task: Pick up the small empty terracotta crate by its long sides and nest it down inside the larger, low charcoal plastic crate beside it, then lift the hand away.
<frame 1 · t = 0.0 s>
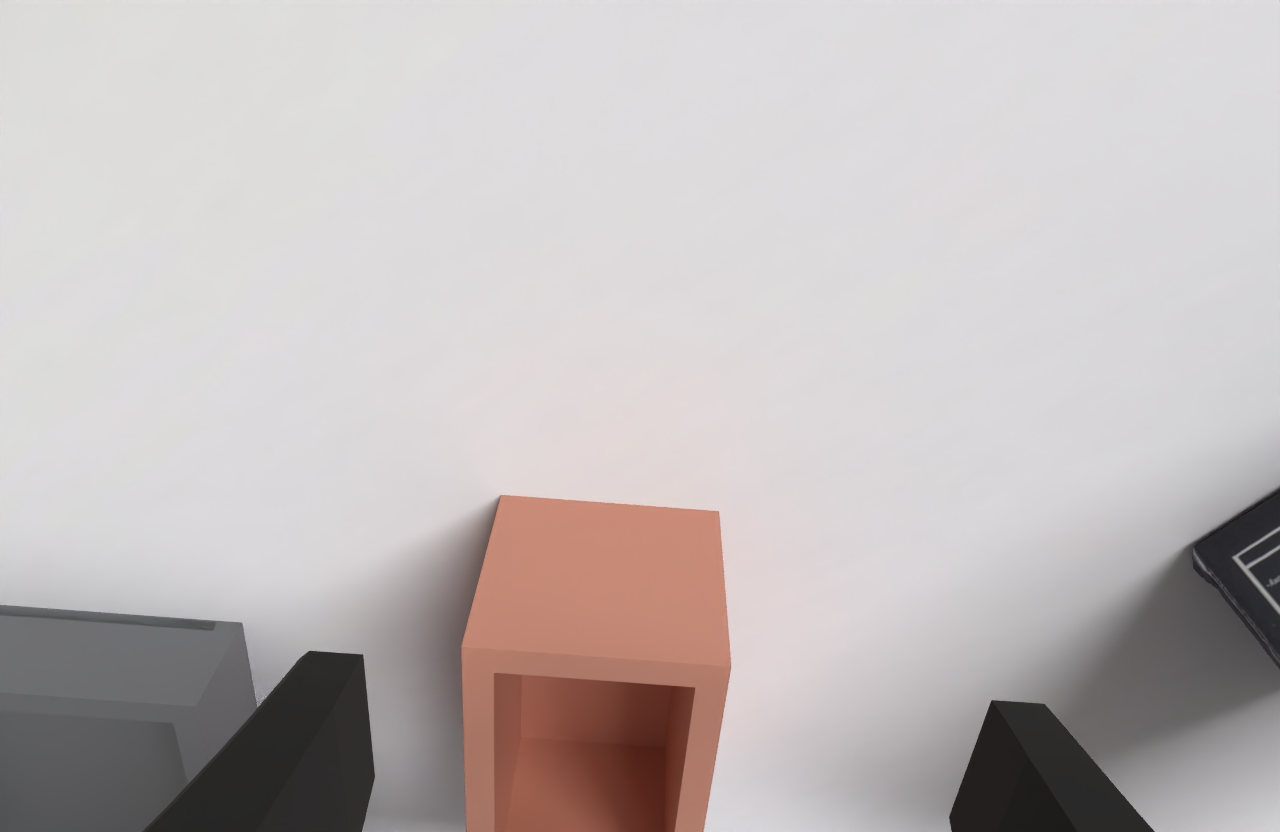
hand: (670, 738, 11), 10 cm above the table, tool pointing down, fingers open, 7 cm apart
terracotta crate: (601, 630, 24), on the table
charcoal crate: (96, 762, 27), on the table
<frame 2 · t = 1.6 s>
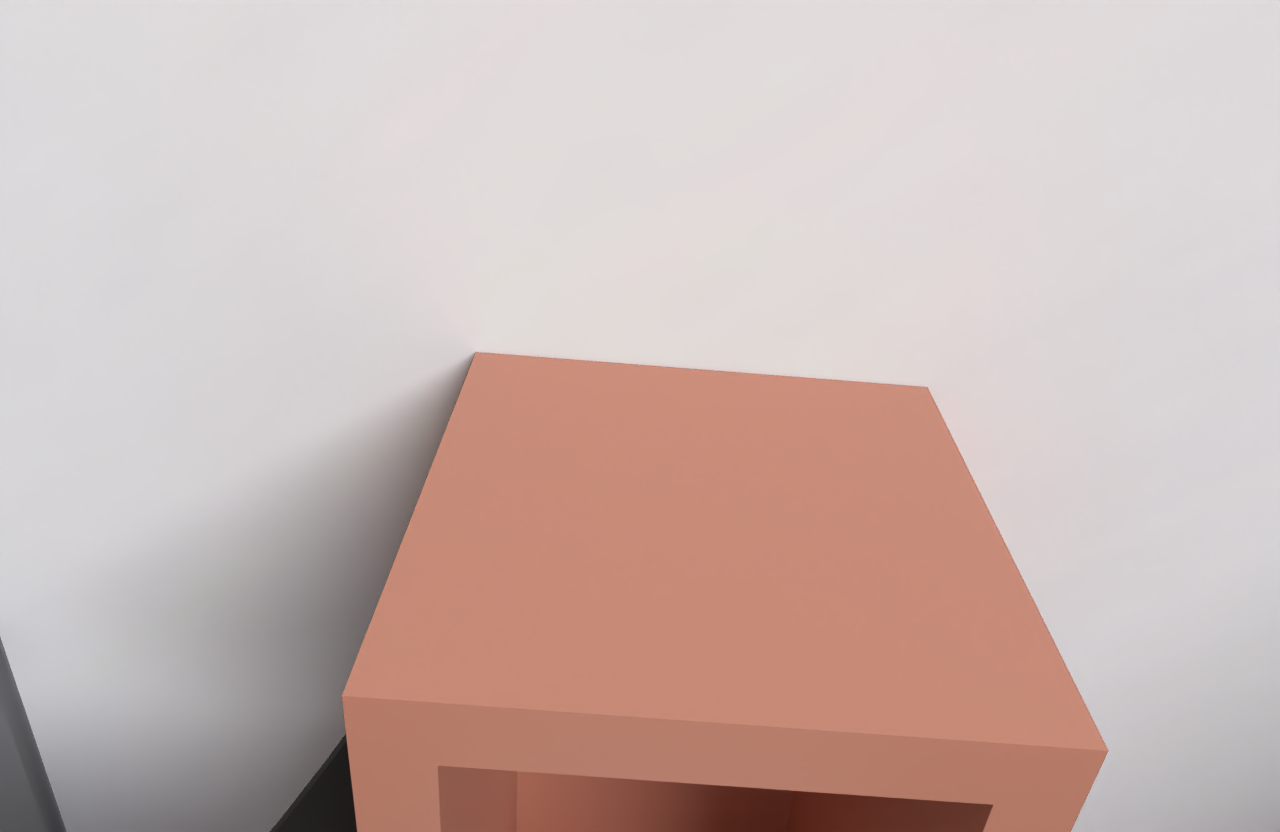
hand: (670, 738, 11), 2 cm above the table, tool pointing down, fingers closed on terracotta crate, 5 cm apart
terracotta crate: (669, 640, 13), on the table, touching gripper
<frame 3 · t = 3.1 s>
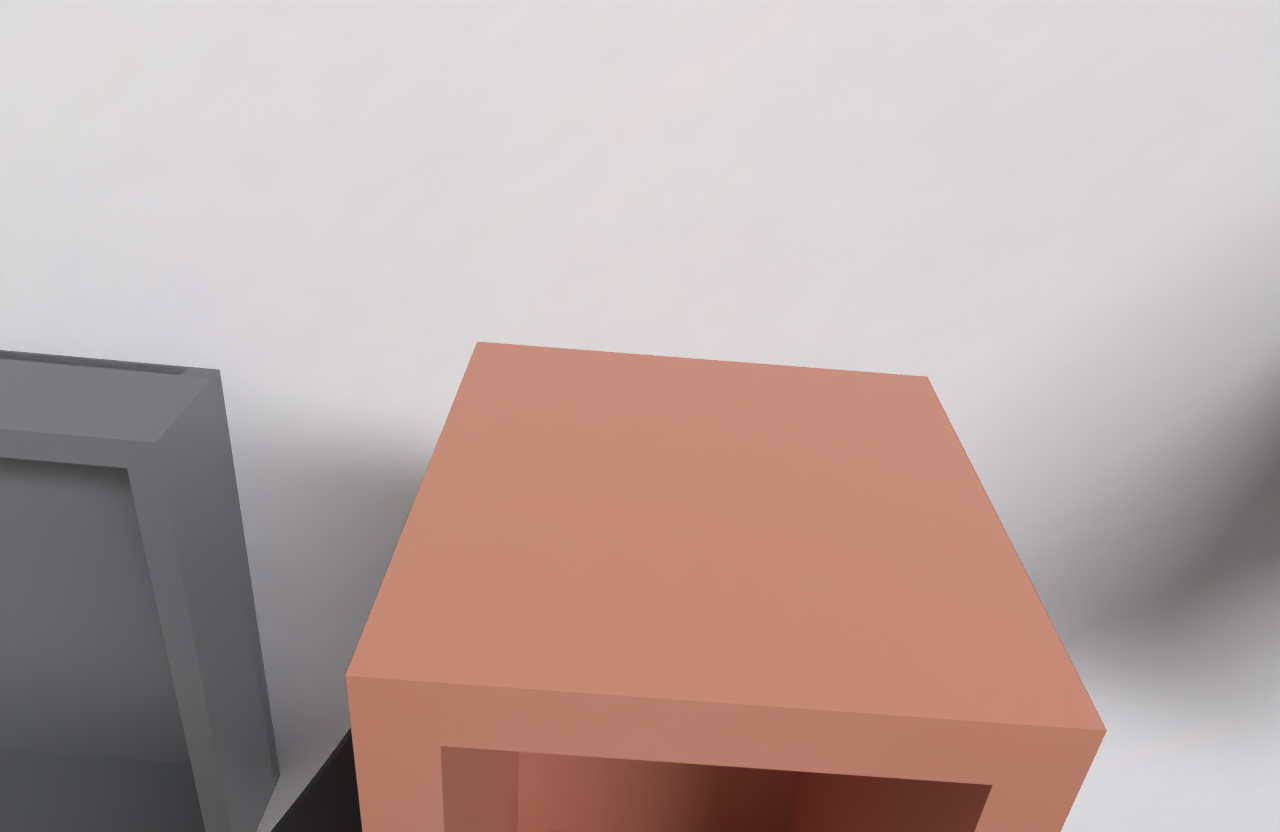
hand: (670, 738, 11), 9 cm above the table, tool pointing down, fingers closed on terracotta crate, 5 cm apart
terracotta crate: (670, 630, 13), point 7 cm above the table, touching gripper
charcoal crate: (40, 574, 22), on the table
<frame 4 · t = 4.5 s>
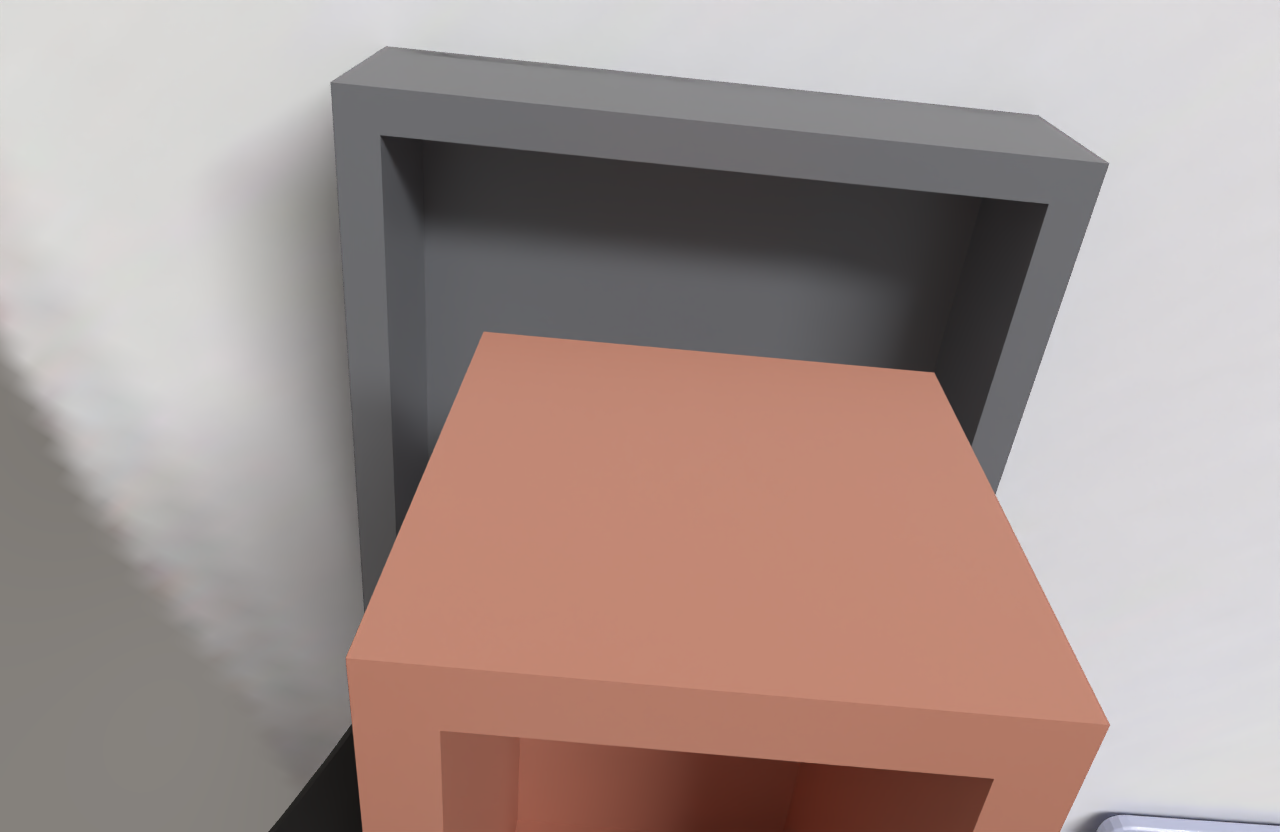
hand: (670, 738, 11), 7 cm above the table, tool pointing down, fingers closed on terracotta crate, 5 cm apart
terracotta crate: (673, 624, 13), point 6 cm above the table, touching gripper
charcoal crate: (670, 412, 18), on the table
when the fingers open (4 cm above the table, at t = 6.0 s): terracotta crate drops 2 cm, resting on charcoal crate.
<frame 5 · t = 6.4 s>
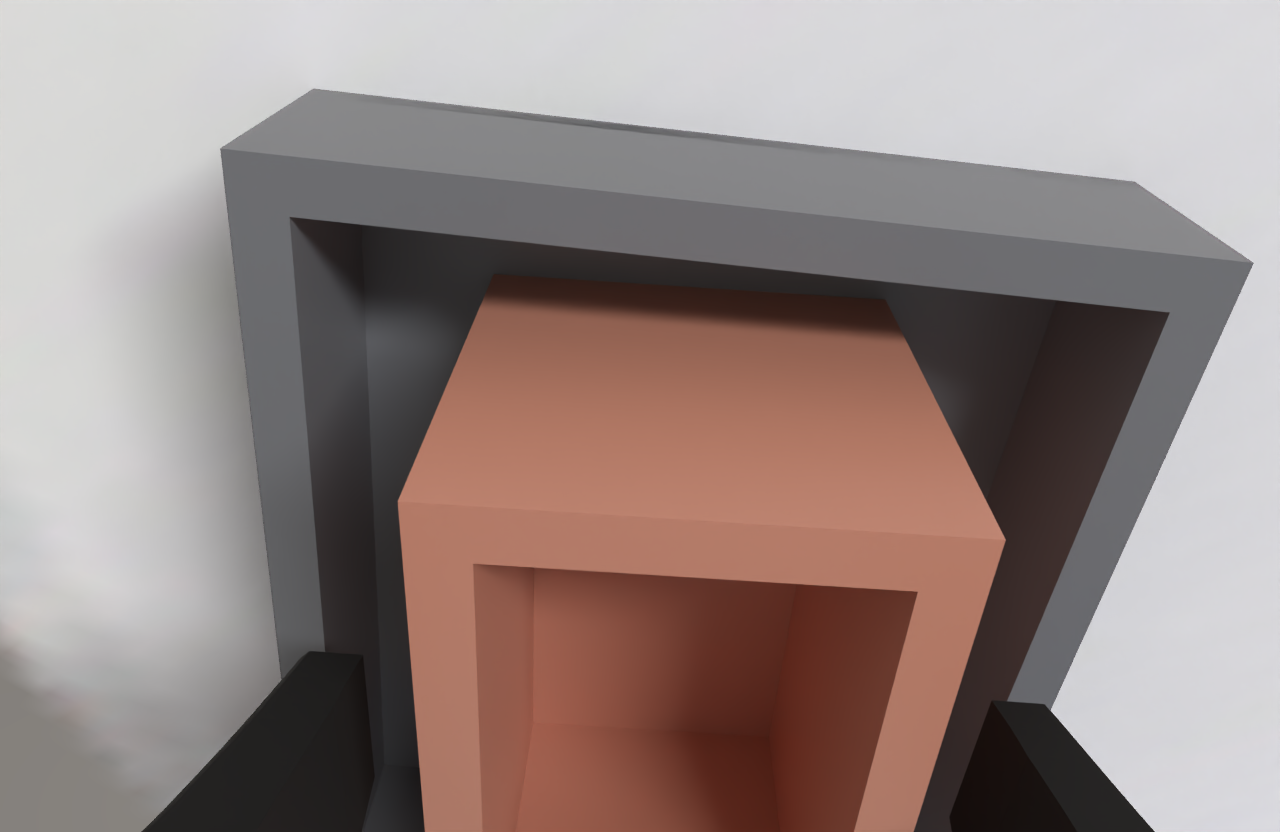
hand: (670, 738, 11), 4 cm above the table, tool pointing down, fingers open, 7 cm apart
terracotta crate: (666, 537, 14), resting on charcoal crate
charcoal crate: (669, 522, 15), on the table, touching terracotta crate
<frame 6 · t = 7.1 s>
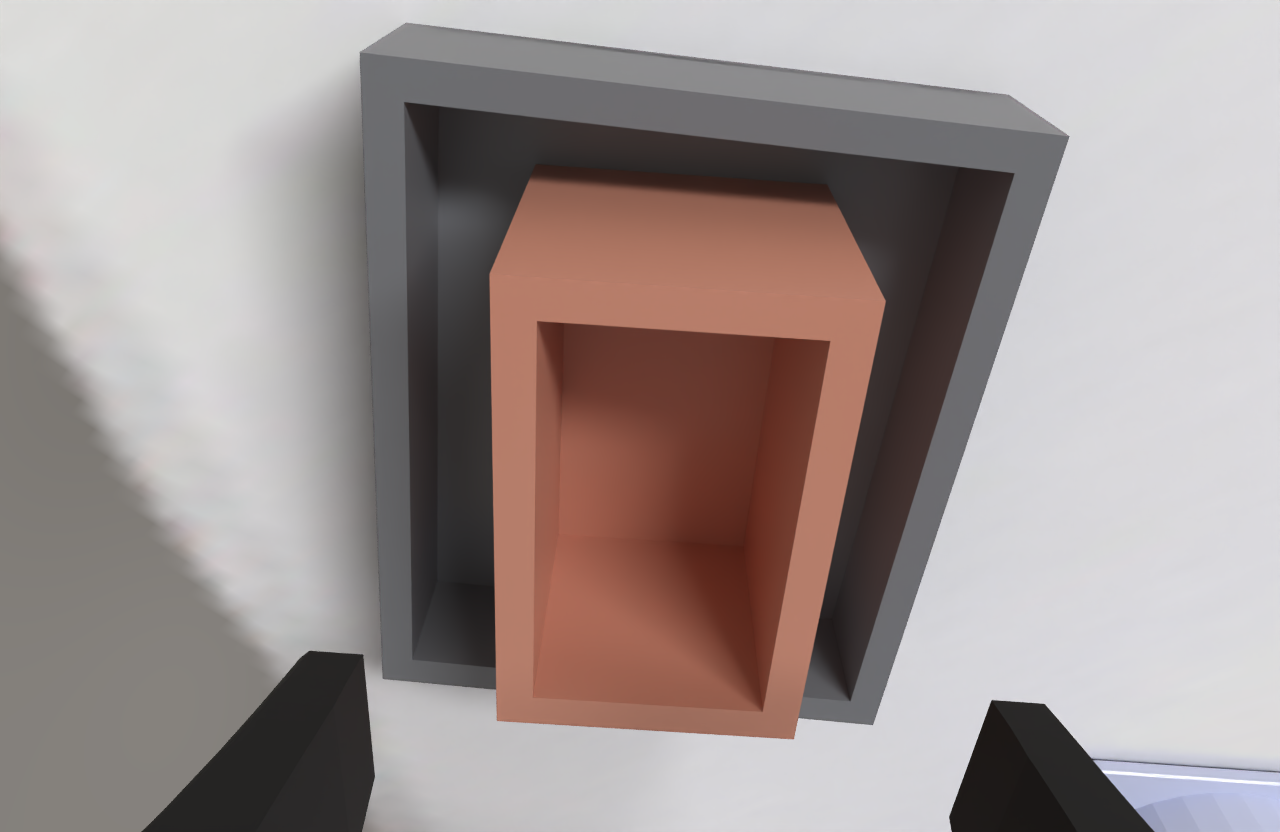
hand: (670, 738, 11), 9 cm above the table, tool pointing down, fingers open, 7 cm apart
terracotta crate: (663, 380, 18), resting on charcoal crate
charcoal crate: (666, 373, 19), on the table, touching terracotta crate
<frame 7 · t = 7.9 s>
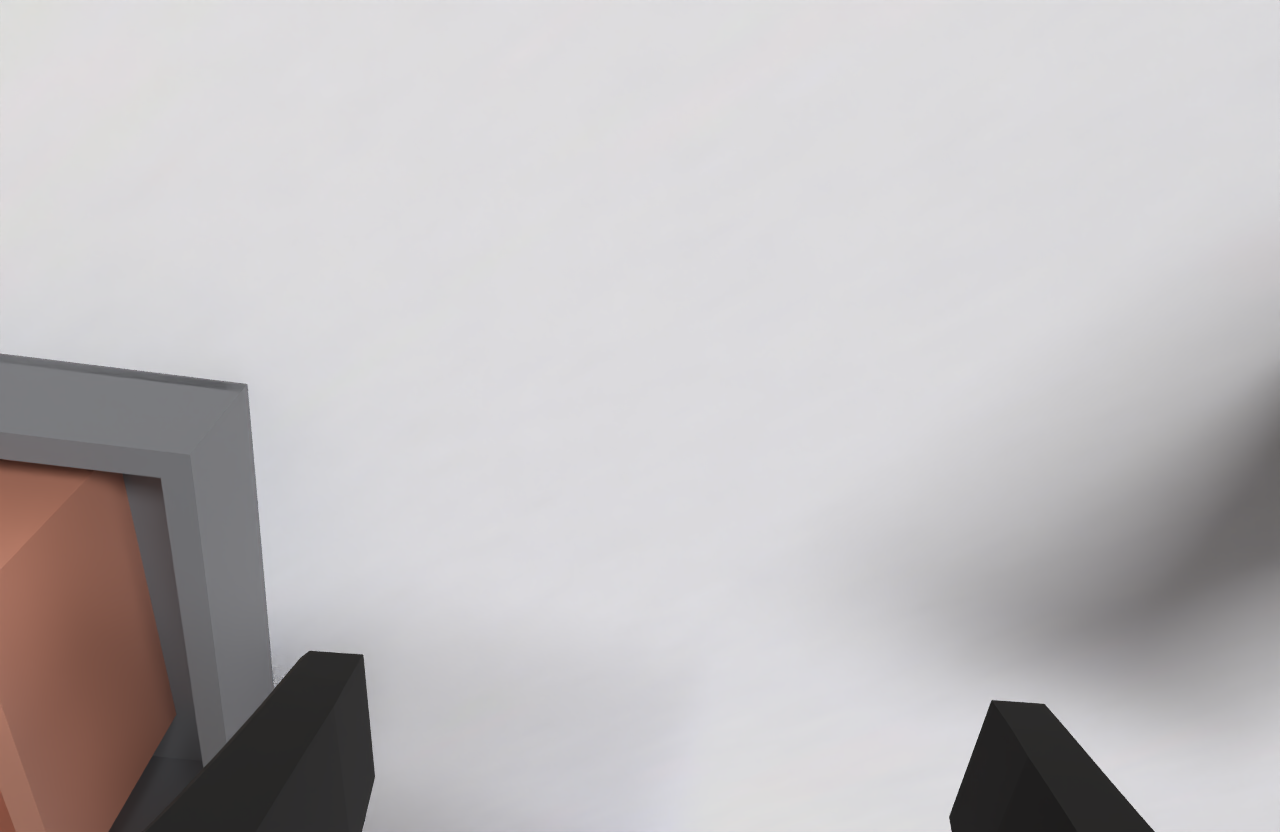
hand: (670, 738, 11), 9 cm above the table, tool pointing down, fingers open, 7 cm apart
terracotta crate: (40, 584, 22), resting on charcoal crate
charcoal crate: (58, 573, 23), on the table, touching terracotta crate
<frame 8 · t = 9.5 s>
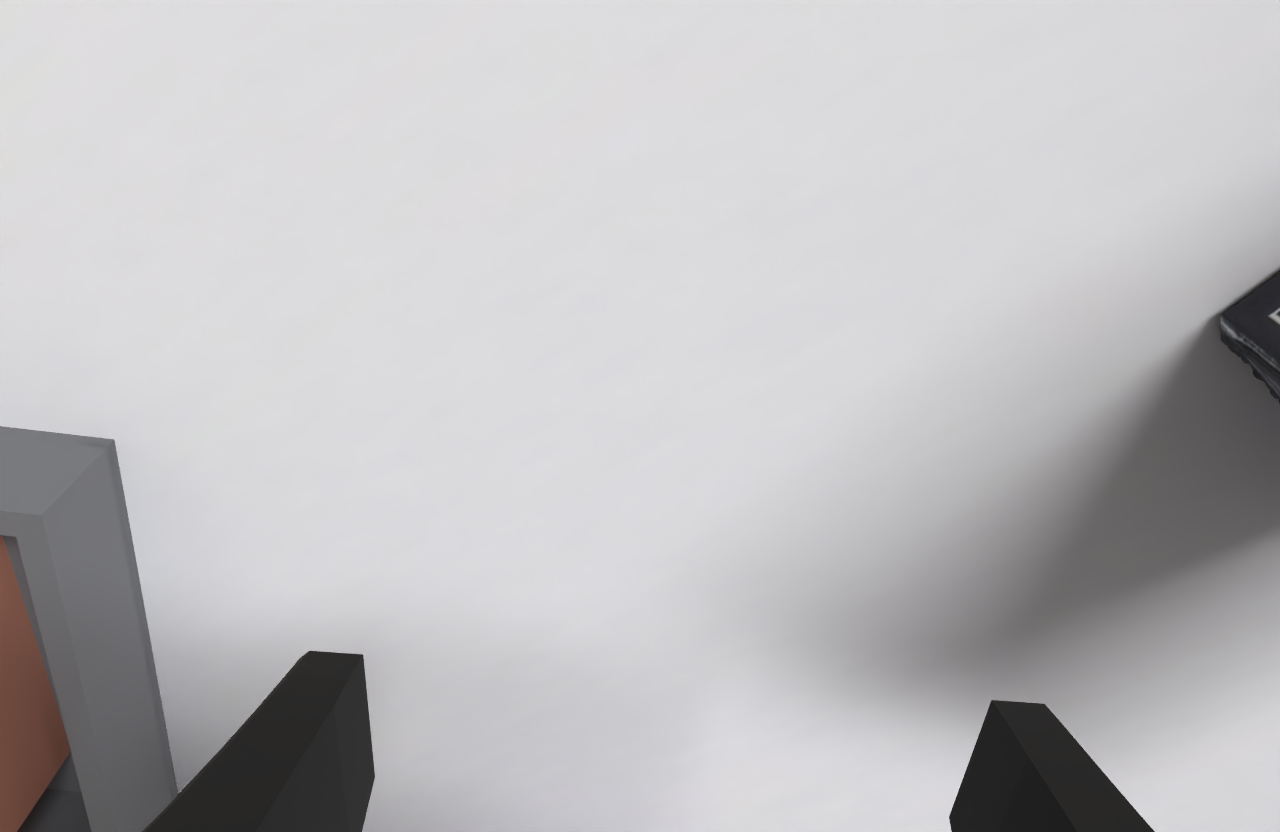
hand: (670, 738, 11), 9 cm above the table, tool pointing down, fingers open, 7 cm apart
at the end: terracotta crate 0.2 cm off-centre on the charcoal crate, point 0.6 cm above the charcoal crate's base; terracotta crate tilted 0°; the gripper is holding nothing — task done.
